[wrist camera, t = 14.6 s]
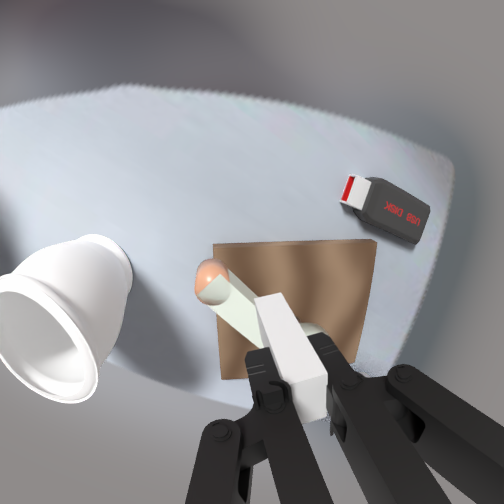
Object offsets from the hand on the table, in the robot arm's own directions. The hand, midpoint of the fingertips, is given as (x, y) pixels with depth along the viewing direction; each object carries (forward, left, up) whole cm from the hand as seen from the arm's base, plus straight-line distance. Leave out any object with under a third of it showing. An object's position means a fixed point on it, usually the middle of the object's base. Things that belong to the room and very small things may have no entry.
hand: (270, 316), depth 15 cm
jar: (-16, -2, -15) cm, 22 cm away
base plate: (+6, -8, -15) cm, 18 cm away
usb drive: (+17, +4, -15) cm, 23 cm away
